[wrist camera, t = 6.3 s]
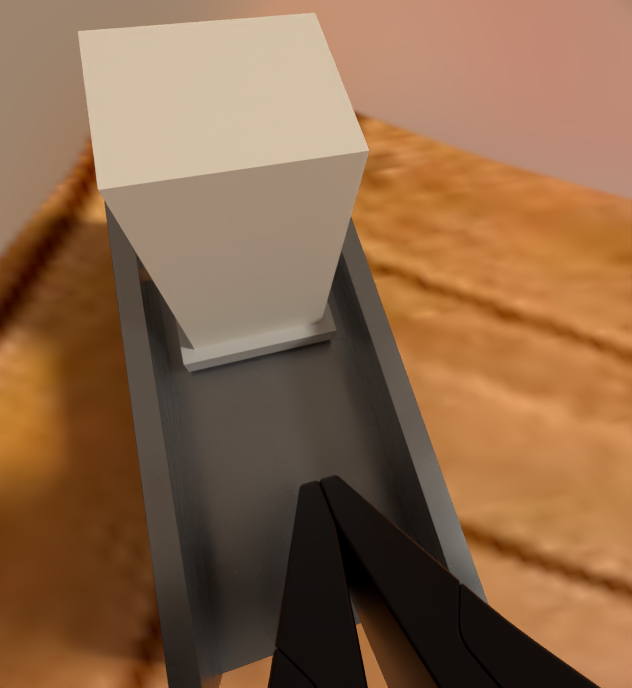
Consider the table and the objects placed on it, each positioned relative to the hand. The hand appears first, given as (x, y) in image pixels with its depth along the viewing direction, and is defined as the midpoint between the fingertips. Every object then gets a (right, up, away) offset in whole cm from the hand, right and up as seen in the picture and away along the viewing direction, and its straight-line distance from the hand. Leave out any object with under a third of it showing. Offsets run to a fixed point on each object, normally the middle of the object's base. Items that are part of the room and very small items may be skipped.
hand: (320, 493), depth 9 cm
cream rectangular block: (-3, +5, +8) cm, 10 cm away
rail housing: (-2, +1, +8) cm, 9 cm away
